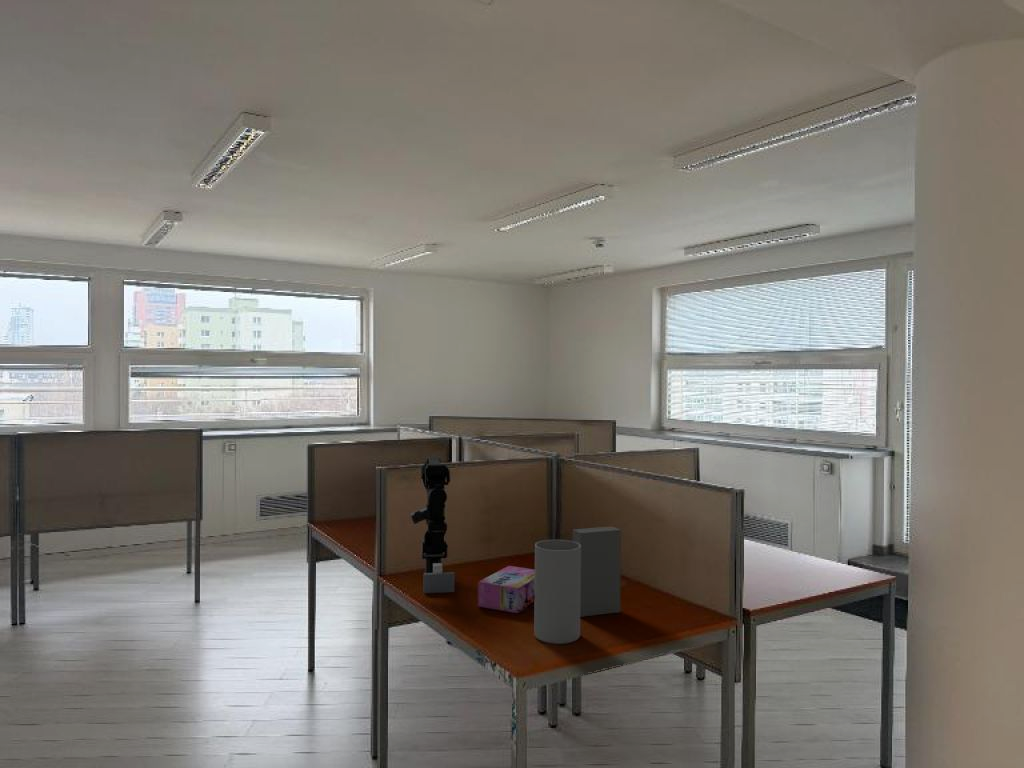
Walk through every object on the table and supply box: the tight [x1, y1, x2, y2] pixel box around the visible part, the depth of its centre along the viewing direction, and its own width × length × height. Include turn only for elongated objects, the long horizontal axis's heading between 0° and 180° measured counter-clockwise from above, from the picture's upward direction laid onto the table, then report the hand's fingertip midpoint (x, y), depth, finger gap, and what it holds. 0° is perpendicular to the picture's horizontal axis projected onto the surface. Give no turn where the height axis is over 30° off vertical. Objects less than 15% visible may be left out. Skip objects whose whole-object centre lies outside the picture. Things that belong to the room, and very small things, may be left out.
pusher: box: [423, 563, 456, 594], centre depth 238 cm, size 10×10×7 cm
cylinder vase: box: [533, 539, 581, 645], centre depth 194 cm, size 12×12×25 cm
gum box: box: [477, 565, 535, 614], centre depth 226 cm, size 24×8×14 cm
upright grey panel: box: [572, 526, 622, 618], centre depth 215 cm, size 14×6×25 cm, turn 111°
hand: (435, 546), depth 241 cm, fingers open, 9 cm apart
